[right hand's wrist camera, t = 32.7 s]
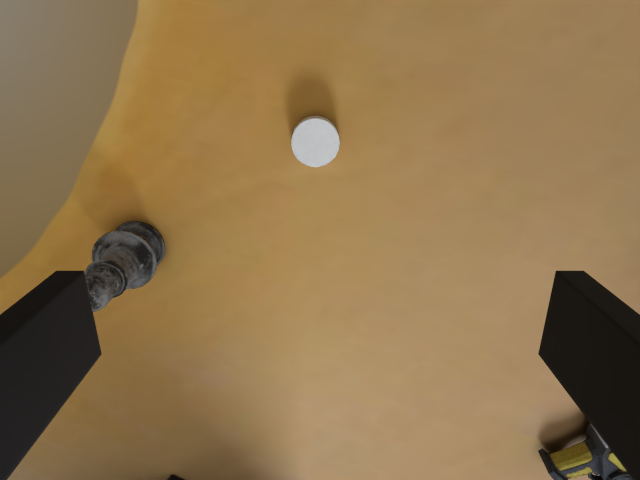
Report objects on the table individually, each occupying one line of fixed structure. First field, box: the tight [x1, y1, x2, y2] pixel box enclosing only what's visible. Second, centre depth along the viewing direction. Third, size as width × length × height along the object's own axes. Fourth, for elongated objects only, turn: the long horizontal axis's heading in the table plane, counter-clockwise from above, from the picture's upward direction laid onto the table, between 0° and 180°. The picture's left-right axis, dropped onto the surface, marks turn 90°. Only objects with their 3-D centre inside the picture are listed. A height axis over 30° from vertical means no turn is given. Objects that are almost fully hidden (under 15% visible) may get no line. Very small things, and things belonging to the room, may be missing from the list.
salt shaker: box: [85, 221, 165, 312], centre depth 39 cm, size 6×6×12 cm
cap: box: [291, 115, 340, 167], centre depth 40 cm, size 4×4×2 cm
